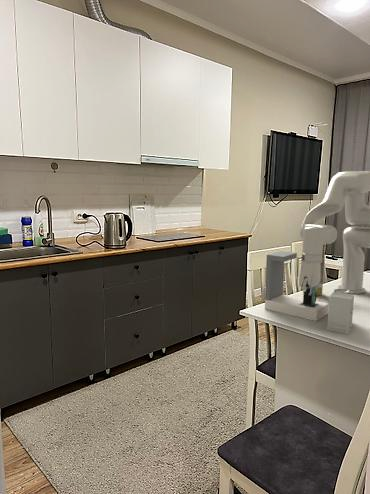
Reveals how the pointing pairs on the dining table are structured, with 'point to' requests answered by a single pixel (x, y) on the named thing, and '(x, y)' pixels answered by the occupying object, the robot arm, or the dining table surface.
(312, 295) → the peg
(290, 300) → the socket block
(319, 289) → the paper tube
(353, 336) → the dining table surface
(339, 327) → the supplement box
